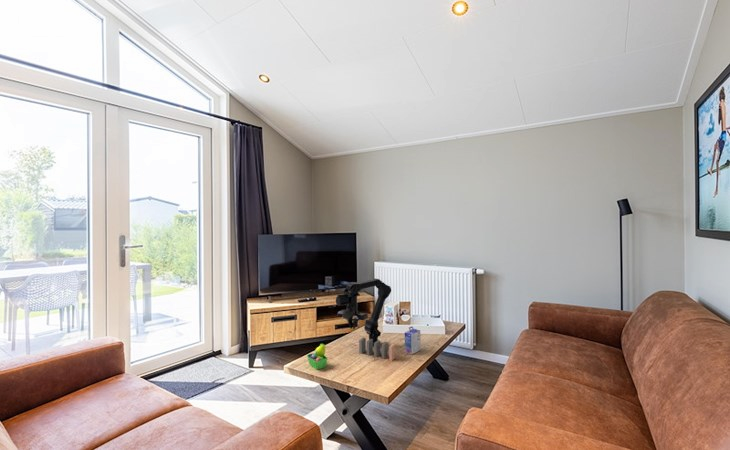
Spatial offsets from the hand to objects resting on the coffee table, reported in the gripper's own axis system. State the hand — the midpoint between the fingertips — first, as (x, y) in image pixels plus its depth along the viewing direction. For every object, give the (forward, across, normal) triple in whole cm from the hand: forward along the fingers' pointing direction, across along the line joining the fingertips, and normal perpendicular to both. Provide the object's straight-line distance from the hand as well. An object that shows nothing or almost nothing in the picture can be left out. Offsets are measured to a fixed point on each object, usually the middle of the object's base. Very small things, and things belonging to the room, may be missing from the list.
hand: (352, 328), depth 208 cm
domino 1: (+13, +7, 0) cm, 15 cm away
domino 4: (+13, +22, 0) cm, 26 cm away
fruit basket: (+13, -5, -28) cm, 31 cm away
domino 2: (+13, +12, 0) cm, 18 cm away
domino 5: (+13, +27, 0) cm, 30 cm away
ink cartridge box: (+13, +33, +16) cm, 39 cm away
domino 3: (+13, +17, 0) cm, 21 cm away
